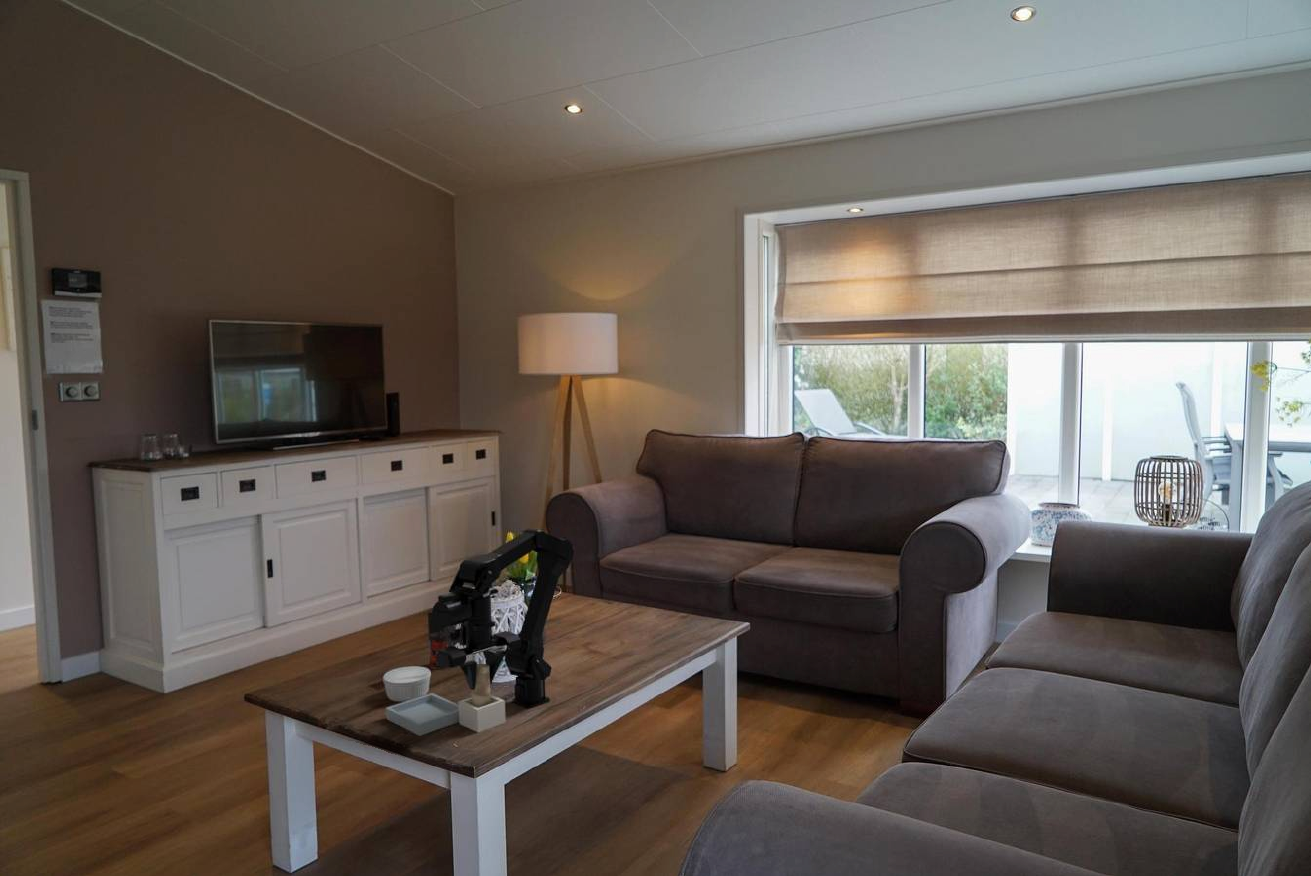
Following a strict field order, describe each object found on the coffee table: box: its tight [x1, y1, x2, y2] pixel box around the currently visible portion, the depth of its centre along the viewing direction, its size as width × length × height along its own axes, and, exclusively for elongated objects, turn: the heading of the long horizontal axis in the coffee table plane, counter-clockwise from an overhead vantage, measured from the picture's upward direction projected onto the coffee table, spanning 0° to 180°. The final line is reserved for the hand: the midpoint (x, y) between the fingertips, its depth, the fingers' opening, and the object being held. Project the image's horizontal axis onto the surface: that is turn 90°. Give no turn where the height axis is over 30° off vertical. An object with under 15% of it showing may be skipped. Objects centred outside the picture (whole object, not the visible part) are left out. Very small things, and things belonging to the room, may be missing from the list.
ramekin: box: [382, 665, 432, 703], centre depth 215 cm, size 11×11×5 cm
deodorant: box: [427, 607, 453, 670], centre depth 235 cm, size 6×6×15 cm
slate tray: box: [385, 692, 459, 737], centre depth 200 cm, size 12×14×2 cm
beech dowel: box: [471, 663, 491, 708], centre depth 197 cm, size 4×4×11 cm
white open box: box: [458, 694, 507, 733], centre depth 197 cm, size 7×7×5 cm
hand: (480, 686), depth 197 cm, fingers closed on beech dowel, 4 cm apart
